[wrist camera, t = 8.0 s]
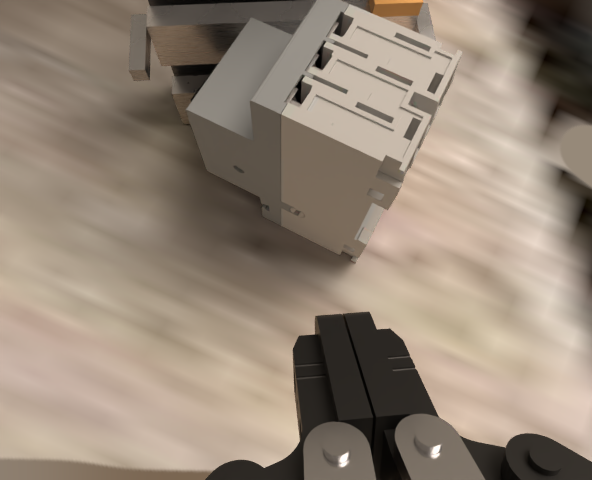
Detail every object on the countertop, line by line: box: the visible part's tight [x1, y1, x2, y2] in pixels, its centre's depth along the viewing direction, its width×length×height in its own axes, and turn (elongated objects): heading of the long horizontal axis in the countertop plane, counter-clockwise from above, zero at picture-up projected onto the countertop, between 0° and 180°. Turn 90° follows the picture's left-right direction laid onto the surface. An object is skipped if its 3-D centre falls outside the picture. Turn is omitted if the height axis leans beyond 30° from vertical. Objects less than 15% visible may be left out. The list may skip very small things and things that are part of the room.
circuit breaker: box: [186, 0, 463, 263], centre depth 29 cm, size 8×14×15 cm, turn 63°
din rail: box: [146, 0, 423, 124], centre depth 32 cm, size 17×2×12 cm, turn 95°
